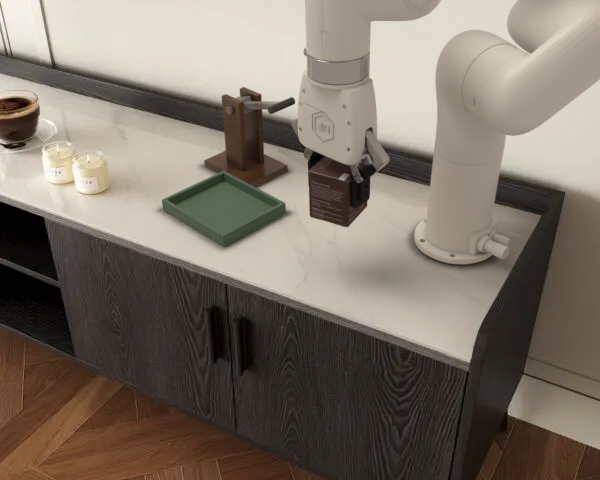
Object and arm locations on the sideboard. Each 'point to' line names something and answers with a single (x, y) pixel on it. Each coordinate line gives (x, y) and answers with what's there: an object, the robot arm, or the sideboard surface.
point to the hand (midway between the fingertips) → (338, 192)
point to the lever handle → (265, 104)
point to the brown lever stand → (244, 144)
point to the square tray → (224, 207)
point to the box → (332, 192)
